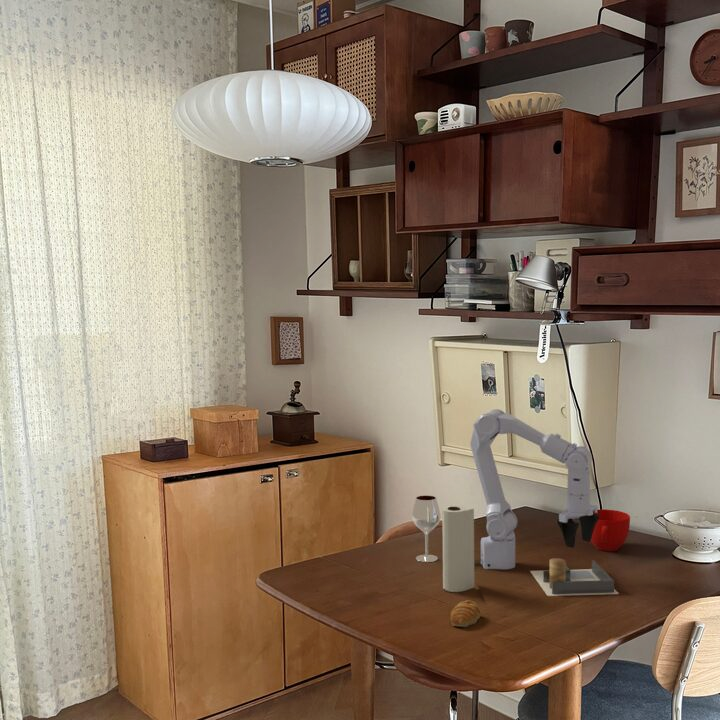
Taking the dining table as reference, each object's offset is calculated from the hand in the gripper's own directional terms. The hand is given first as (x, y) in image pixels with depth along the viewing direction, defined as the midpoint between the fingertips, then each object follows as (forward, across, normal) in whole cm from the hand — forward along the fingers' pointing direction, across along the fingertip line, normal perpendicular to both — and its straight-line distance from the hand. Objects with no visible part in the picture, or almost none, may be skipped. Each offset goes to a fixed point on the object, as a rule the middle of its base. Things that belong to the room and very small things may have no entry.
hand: (578, 543), depth 216 cm
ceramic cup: (+10, +27, +9) cm, 30 cm away
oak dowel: (+9, -11, -2) cm, 14 cm away
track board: (+10, -5, -2) cm, 11 cm away
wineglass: (+10, -17, +40) cm, 44 cm away
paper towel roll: (+10, -29, +17) cm, 35 cm away
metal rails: (+9, -5, -2) cm, 10 cm away
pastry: (+10, -42, +2) cm, 43 cm away
